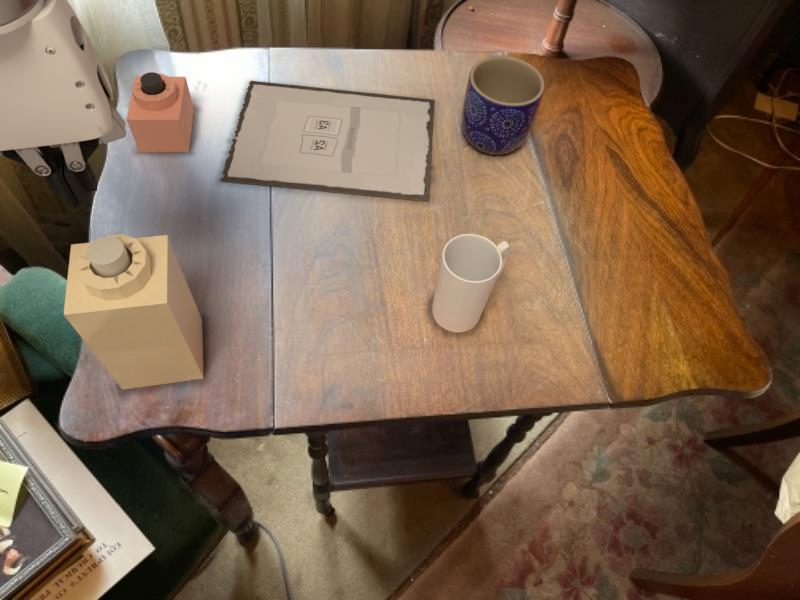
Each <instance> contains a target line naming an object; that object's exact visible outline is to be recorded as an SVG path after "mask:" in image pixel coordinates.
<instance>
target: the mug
mask: <svg viewBox="0 0 800 600" xmlns="http://www.w3.org/2000/svg"><path fill="white" fill-rule="evenodd" d="M509 247H510V244H509V243H508V242H507V241H506V240H502V241H501V242H500V243H498V244H495V242H493V241H492V240H491V239H490V238H488V237H485V236H483V235H479V234H475V233H462V234H459V235H457V236H453V237H452V238H450V239H449V240H448V241H447V242H446V244H445V245H444V247H443V249H442V254H441V259H440V264H439V268H438V274H437V278H436V284H435V290H434V294H433V301H432V306H431V312H432V317H433V320H434V321H435V322H436V324H437V325H438V326H439V327H441V328H442V329H443V330H445V331H447V332H450V333H459V334H460V333H465V332H469V331H471V330H472V329H473V328H475V327H476V325H477V324H478V323H479V320H480V318H481V316H482V315H483V312H484V310H485V307H486V305H487V303H488V300H489V298H490V296H491V293H492V291H493V289H494V286H495V284H496V282H497V280H498V279H499V277H500V276H501V274H502V273H503V271H504V269H505V268H506V265H507V264H508V261H509V258H510V255H511V253H510V248H509Z"/></svg>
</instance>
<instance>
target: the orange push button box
mask: <svg viewBox="0 0 800 600" xmlns="http://www.w3.org/2000/svg"><path fill="white" fill-rule="evenodd" d="M158 74H159V75H160V76H161V78H162V81H163V84H164V91H163V92H162V93H160V94H157V95H147V94H146V93H145V92H144V90H143V87H142V84H141V82H140V78H141V77H142V75H139V76H137V75H135V78H134V82H133V83H132V86H131V97H130V101H129V106H128V110H127V115H126V122H127V125H128V127H129V129H130V132H131V134H132V137H133V139H134V142H135V145H136V147H137V150H138V153H189V152H190V148H191V147H190V146H191V138H192V133H193V131H192V130H193V124H194V118H195V117H194V116H195V107H194V103H193V100H192V96H191V92H190V88H189V85H188V81H187V77H186V76H170V75H166V74H163V73H158Z"/></svg>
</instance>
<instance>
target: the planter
mask: <svg viewBox="0 0 800 600" xmlns="http://www.w3.org/2000/svg"><path fill="white" fill-rule="evenodd" d="M545 87H546V85H545V79H544V77H543V76H542V74H541V73H540V71H539V70H538V69H537V68H536V67H535V66H534V65H532V64H530V63H529V62H527V61H525V60H523V59H522V58H517V57H513V56H509V55H493V56H488V57H485V58H482V59H480V60H479V61H477V62H476V63H475V64H474V65H473V66H472V67H471V69H470V72H469V75H468V78H467V83H466V88H465V93H464V98H463V104H462V111H461V130H462V132H463V135H464V137H465V138H466V140H467V141H468V143H469V144H470V145H471V146H472V147H473V148H474V149H475V150H477V151H480V152H481V153H484V154H487V155H491V156H499V155H505V154H508V153H511V152H513V151H515V150H516V149H518V148H519V147H520V146H521V145H522V144H523V143H524V142H525V141H526V139H527V138H528V135H529V134H530V131H531V129H532V127H533V125H534V122H535V119H536V117H537V114H538V112H539V109H540V105H541V102H542V99H543V97H544V92H545V89H546V88H545Z"/></svg>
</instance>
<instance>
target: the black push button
mask: <svg viewBox="0 0 800 600" xmlns="http://www.w3.org/2000/svg"><path fill="white" fill-rule="evenodd" d="M159 74H160V73H158V72H155V71H154V72H153V71H152V72H146V73H144V74H142V75H141V76H142V77H141V78H140V82H141V84H142V87H143V90H144V92H145V93H146V94H147V95H157V94H160V93H162V92H163V91H164V84H163V81H162V78H161V76H160V75H159Z"/></svg>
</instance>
